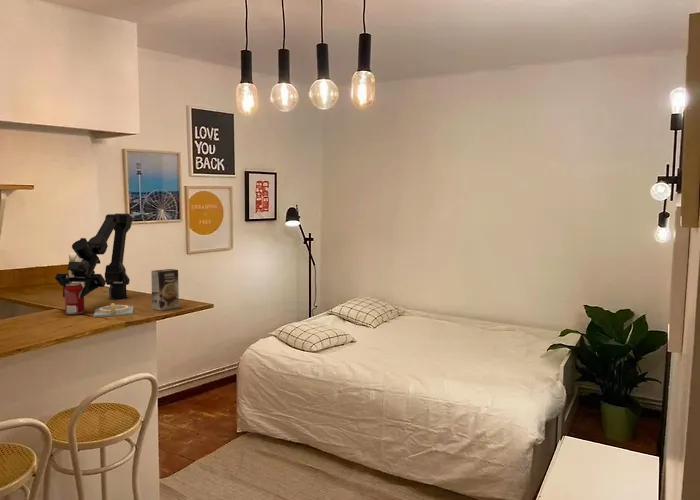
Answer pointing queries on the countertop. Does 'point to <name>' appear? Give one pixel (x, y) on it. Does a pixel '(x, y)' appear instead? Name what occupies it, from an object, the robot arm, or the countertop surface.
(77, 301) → the soda can
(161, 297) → the cookie box
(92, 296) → the countertop surface
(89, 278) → the robot arm
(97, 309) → the flange board
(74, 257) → the juice carton
